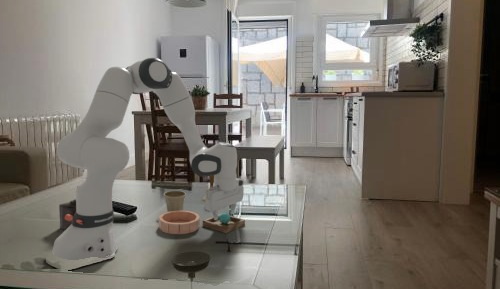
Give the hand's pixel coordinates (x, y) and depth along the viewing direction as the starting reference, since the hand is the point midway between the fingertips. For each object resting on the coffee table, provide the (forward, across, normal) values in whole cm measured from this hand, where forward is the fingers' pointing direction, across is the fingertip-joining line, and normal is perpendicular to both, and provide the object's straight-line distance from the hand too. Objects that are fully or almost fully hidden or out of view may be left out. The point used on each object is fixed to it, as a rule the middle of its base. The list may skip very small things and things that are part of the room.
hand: (224, 216), depth 168 cm
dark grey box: (+4, -39, +37) cm, 54 cm away
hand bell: (+4, +22, +26) cm, 34 cm away
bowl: (+4, -13, +12) cm, 18 cm away
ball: (+3, 0, 0) cm, 3 cm away
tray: (+4, 0, 0) cm, 4 cm away
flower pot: (+4, -3, +25) cm, 25 cm away
